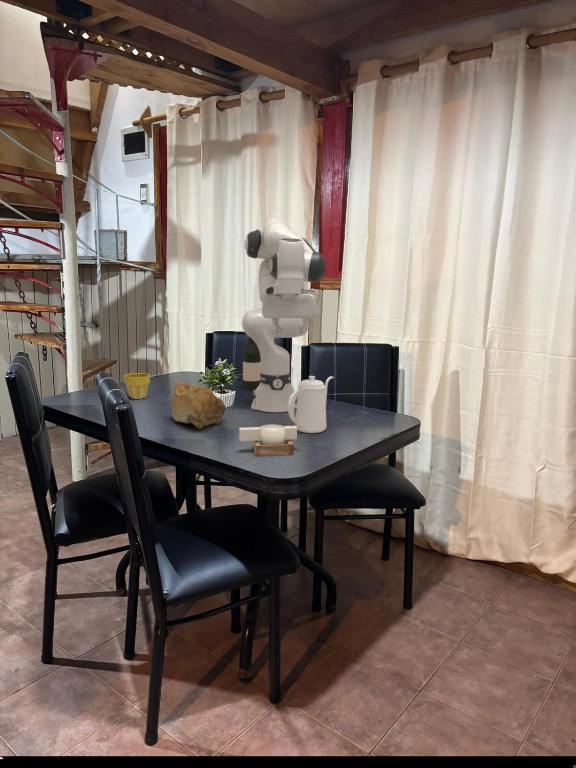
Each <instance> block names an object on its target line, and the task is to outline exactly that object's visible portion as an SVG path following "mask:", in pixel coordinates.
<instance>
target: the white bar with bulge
mask: <svg viewBox="0 0 576 768" xmlns="http://www.w3.org/2000/svg"><path fill="white" fill-rule="evenodd" d="M238 430H239V431H238V433H239V434H238V439H239V442H253V441H258V442H259V444H260V445H277V444H285V440H289V439H290V440H297V439H298V430H297V427H296V426H295V425H281V424H275V423H274V424H273V423H272V424H270V423H269V424H264V425H261V426H253V427H251V426H249V427H239V429H238Z"/></svg>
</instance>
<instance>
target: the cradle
mask: <svg viewBox="0 0 576 768" xmlns="http://www.w3.org/2000/svg"><path fill="white" fill-rule="evenodd" d="M252 449H253V451H254V454H255V456H256V457H261V456H262V457H263V456H265V457H267V456H268V457H269V456H286V455H287V456H288V455H291V456H292V455H294V449H295V448H294V443H293V442H292V439H289V440H285V444H277V445H260V441H252Z"/></svg>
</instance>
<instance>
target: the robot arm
mask: <svg viewBox="0 0 576 768" xmlns="http://www.w3.org/2000/svg"><path fill="white" fill-rule="evenodd" d="M244 250H245V252H246V255H247V256H248V257H249V258H251V259H254V260H255V259H262V261H261V262H260V264H259V270H258V290H259V291H258V294H259V300H260V302H261V303H262V307H261V308H256V309H251V310H247V311H246V313H244V315H243V318H242V320H241V321H242V322H241V326H242V329H243V331H244V333H245V334H246V335H247V337H248V338H249V337H250V338H252V339H253V340H254V342H255V343H256V344H257V346H258V348H259V351H260V356H261V373H260V384H259V386H258V388H257V390H253V396H254V398H253V400H252V404H251V406H250V409H251V410H257V411H261V412H266V413H267V412H268V413H284V412H288V401H289V398H290V396H291V395H292V393H293V392H295V387H293V385H292V384H291V381H292V379H291V373H290V371H291V369H290V368H291V367H290V364H291V363H290V361H291V360H290V358H291V356H290V353H289V351H288V350H287V349H285V348H284V347H282V346H280V345H277V344H276V343H275V339H276V338H278V339H279V338H280V339H282V338H283V339H284V338H287V339H288V338H291V339H292V338H298V337H302V336H305V335H306V334H307V333H308V331H309V329H310V322H311V320H310V319H319V317H320V316H321V309H320V302H319V301H320V292H319V291H318V290H317V289H315V288H305V285H306V284H305V283H306V282H308V283H318V282H320V281H321V280H322V279H323V278H324V276H325V274H326V267H327V266H326V260H325V257H324V256H323V255H322V254H321V253H320V252H318V251H316V249H314V247H313V246H312V245H311V244H310V243H309V242H308V240H306V239H305V238H304V237H302V236H300V235H299V234H297V233H296V232H294V231H293V230H292V229H291V227H290V226H289V224H288V223H287V222H286V221H285V220H284V219H283V218H281V217H279V216H273V217H270V218H269V219H267V220H266V222H265V223H264V224H263V228H262V230H258V229H255V230H253V231H250V232H248V233H247V234H246V238H245V240H244ZM291 403H292V402H291ZM295 409H297V403H295V404H294V410H295Z"/></svg>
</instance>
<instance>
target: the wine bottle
mask: <svg viewBox="0 0 576 768" xmlns="http://www.w3.org/2000/svg"><path fill="white" fill-rule="evenodd" d="M260 373H261V356H260V351H259V348H258V346H257V344H256V343H255V342H254V340H253V339H252V338H250V337H249V336H248V342H247V345H246V347H245V349H244V350H243V352H242V389H243V390H245V391H254V390H257V388H258V386H259V384H260Z"/></svg>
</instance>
